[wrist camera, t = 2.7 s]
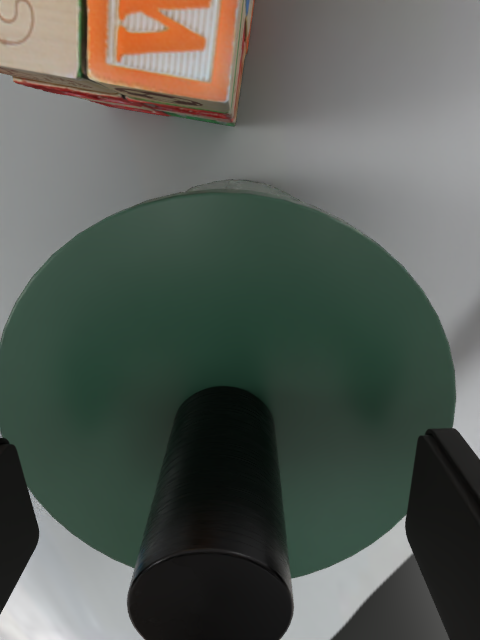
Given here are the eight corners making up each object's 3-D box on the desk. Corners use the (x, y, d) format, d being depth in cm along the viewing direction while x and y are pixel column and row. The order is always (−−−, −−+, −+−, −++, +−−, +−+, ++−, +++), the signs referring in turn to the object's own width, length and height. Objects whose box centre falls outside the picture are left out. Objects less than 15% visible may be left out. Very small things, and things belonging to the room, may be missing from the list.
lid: (209, 69, 10) (150, -64, 4) (516, 391, 13) (759, 607, 7) (-55, 403, 13) (-308, 617, 7) (236, 594, 16) (231, 857, 10)
